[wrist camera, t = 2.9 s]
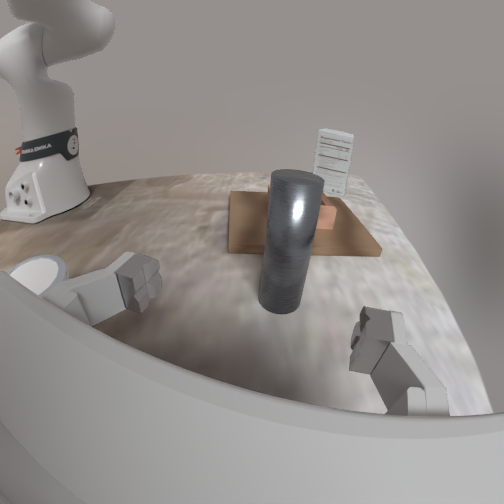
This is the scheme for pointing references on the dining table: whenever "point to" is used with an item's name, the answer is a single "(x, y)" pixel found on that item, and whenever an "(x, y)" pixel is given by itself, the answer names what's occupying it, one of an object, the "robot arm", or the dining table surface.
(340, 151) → the supplement box
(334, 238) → the keeper board
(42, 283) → the shot glass
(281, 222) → the peg
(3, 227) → the dining table surface
